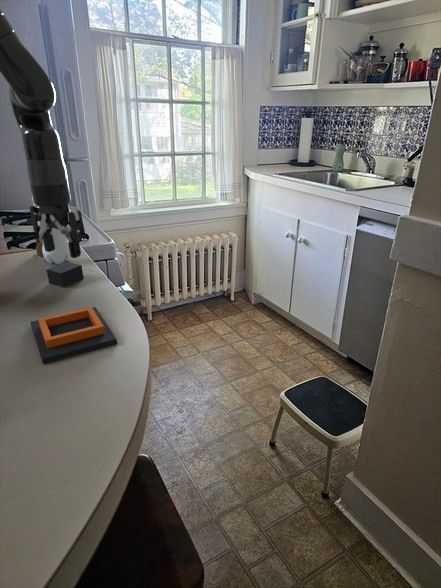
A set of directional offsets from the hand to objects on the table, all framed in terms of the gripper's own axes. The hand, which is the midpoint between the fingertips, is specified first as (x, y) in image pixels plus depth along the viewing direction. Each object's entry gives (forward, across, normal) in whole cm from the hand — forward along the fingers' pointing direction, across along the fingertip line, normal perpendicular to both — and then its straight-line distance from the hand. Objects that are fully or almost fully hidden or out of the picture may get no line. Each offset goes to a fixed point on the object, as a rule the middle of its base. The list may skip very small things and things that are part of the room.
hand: (63, 253), depth 89 cm
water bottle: (+7, -13, +8) cm, 17 cm away
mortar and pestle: (+7, -21, +11) cm, 25 cm away
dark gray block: (+7, -1, 0) cm, 7 cm away
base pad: (+7, +20, -16) cm, 27 cm away
